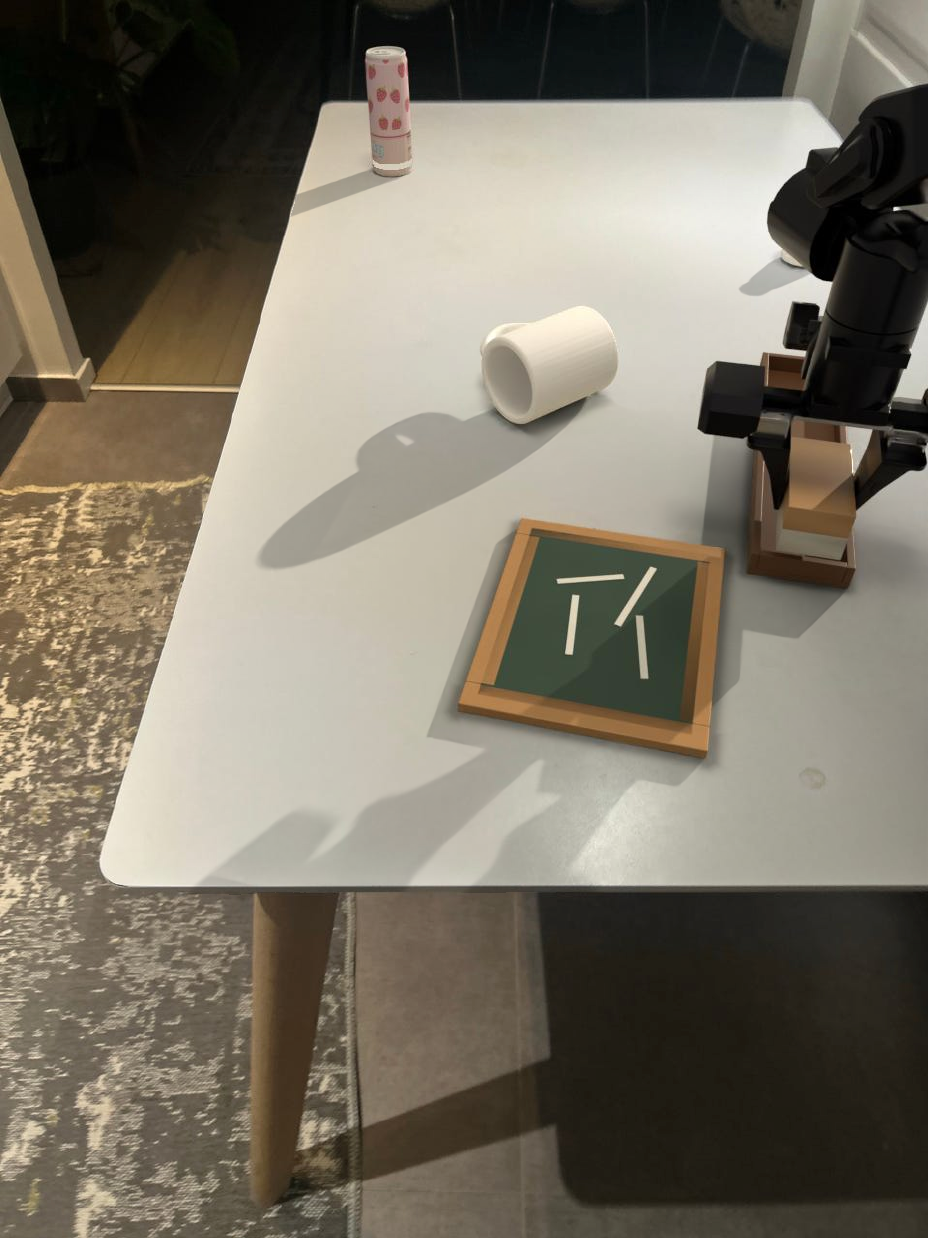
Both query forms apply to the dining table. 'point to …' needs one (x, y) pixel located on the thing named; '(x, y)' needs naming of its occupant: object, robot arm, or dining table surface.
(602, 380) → the mug
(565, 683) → the chalkboard
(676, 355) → the dining table surface
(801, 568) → the chalk tray
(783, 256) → the lidless jar
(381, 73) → the beverage can
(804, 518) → the eraser
